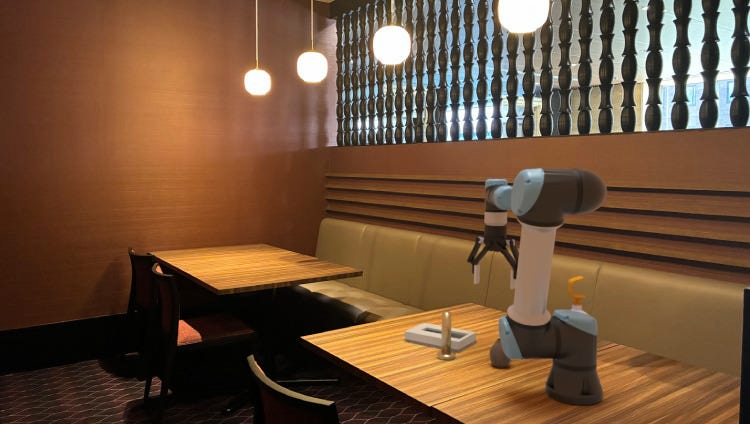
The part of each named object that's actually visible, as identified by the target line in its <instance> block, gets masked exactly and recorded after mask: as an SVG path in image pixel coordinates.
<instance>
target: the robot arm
mask: <svg viewBox="0 0 750 424" xmlns="http://www.w3.org/2000/svg"><path fill="white" fill-rule="evenodd" d="M508 184H509V183H508V180H507V179H506V178H505V179H504V178H488V179H486V180H485V183H484V185H485V186H484V222H483V223H484V229H483V231H484V232H483V233H484V234H483V235H484V237H482V236H477V237H476V238H475V243H474V245H473V247H472V249H471V251H470V253H469V255H468V258H467V260H466V262H467V263H469V264H470V265H471V267H472V268H471V273H472V274H473V284H474V285H477V284H479V283H480V280H481V279H480V277H481V275H480V274H481V271H480V270H481V264H479V262H480V261H481V260H482V259H483V258H484V257H485V256H486V254H487V253H488V252H495V253H499V252H500V254H502V255H503V257H504V258H505V259H506V261H507V262H508V264H509V265H510V266H511V268H512V269H510V287H509V288H510V290H514V298H513V303H512V305H509V307H507V311H506V316H505V315H502V316H500V317H499V319H498V333H499V334H498V336H499V338H500V341H501V345H502V348H503V351H504V353H505V355H506V356H507V357H508V358H510V359H511V360H520V361H523V360H552V365H551V368H550V371H549V373H548V375H547V378H546V381H545V388H544V389H545V390H544V391H545V394H546V395H547V396H548V397H549V398H551V399H553V400H555V401H557V402H561V403H563V404H564V403H565V404H570V405H576V406H577V405H578V406H590V405H596V404H598V403H600V402H601V401H603V394H604V393H603V387H602V384H601V380H600V377H599V374H598V370H597V369H598V368H597V364H598V363H597V362H598V342H599V341H598V340H599V332H598V329H599V328H598V326H599V325H598V321H597V319H595V317H593V316H592V315H590V314H588V313H587V314H588V315H587V314H584V313H581V312H577V311H572V310H571V309H565V308H564V309H562V308H561V309H555V310H553V313H552V315H551V313H550V311H549V310H547V305H548V297H549V290H550V289H549V288H550V281H551V280H550V279H551V275H552V273H551V272H552V266H553V258H554V250H555V249H554V248H555V242H556V234H557V230H558V228H560V227H562V226H563V225H564V221H565V216H570V215H571V216H572V215H573V216H575V215H585V214H589V213H592V212H594V211H596V210H597V209H599V208H600V207H601V206H603V204H604V202H606V200H607V195H608V188H607V185H606V183H605V181H604V179H602V177H601V176H599V175H598V174H597V173H595V172H593V171H592V170H588V169H583V168H543V167H542V168H541V167H536V168H526V169H525V168H524V169H522V170H520V172H519V173H518V174H517V175H516V176H515V179H514V181H513V184H512V185H508ZM508 211H512V213H513V215H516V220H517V221H518V222H519V224H520V225H521V232H520V243H519V249H518V248H517V241H516V239H509V240H508V238H507V236H508V225H506V224H507V223H508ZM482 244H484V246H483V248H482V250H481V251H479V250H480V248H481V246H482ZM507 245H508V247H509V249H510V251H511V253H510V251H509V249H508V248H507ZM478 252H479V253H478ZM477 254H478V255H477Z"/></svg>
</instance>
